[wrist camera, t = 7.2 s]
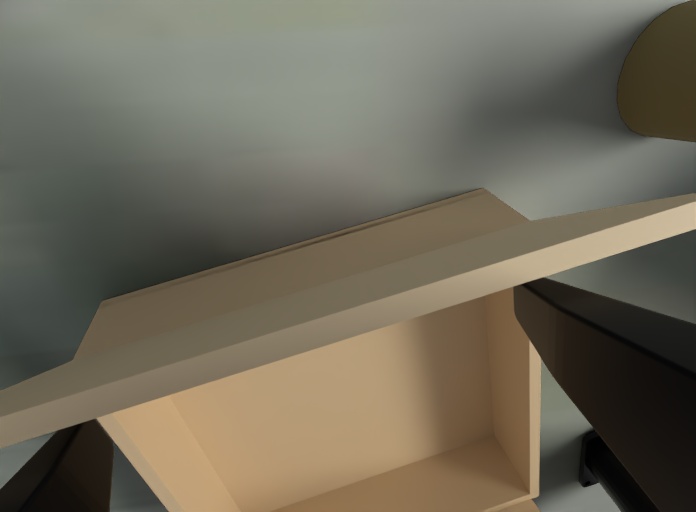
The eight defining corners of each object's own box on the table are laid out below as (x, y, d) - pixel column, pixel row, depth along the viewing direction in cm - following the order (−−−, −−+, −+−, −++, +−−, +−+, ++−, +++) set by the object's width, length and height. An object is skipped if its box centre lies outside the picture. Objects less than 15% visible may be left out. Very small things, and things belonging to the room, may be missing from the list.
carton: (498, 430, 31) (538, 496, 27) (240, 518, 30) (239, 602, 26) (483, 188, 22) (543, 230, 17) (101, 301, 20) (64, 377, 16)
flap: (763, 208, 8) (756, 182, 8) (-225, 518, 7) (-233, 489, 7) (531, 233, 17) (527, 221, 17) (77, 373, 16) (73, 360, 16)
